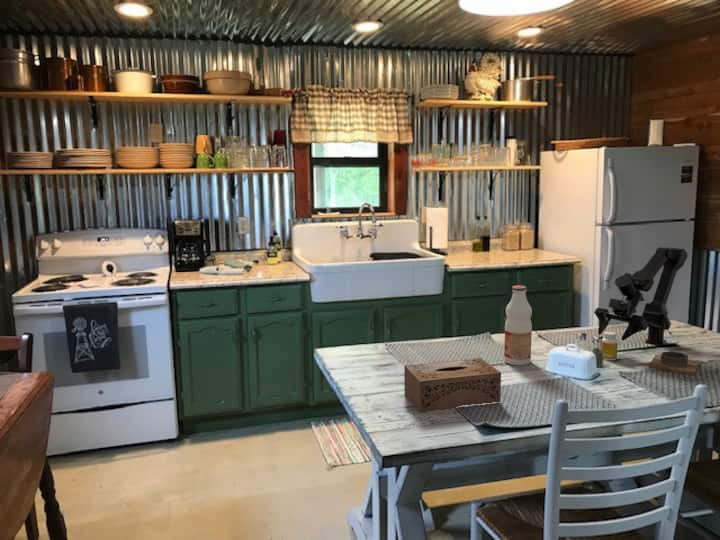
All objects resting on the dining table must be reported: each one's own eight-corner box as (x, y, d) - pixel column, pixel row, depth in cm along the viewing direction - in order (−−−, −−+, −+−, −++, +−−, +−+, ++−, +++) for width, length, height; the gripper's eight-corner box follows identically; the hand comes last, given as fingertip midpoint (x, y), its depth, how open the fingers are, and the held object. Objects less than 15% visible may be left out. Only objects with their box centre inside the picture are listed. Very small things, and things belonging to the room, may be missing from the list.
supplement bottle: (614, 361, 216) (616, 335, 214) (599, 359, 219) (600, 333, 217) (618, 357, 220) (620, 332, 218) (603, 355, 223) (604, 330, 221)
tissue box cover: (480, 387, 195) (480, 357, 193) (500, 404, 181) (501, 372, 179) (404, 395, 189) (404, 365, 187) (419, 413, 175) (419, 381, 173)
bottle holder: (655, 357, 220) (656, 346, 219) (698, 363, 212) (699, 352, 211) (648, 368, 208) (649, 357, 208) (694, 375, 200) (695, 364, 200)
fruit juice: (520, 368, 211) (522, 290, 206) (498, 361, 218) (500, 286, 213) (536, 362, 217) (538, 286, 212) (514, 356, 224) (516, 282, 219)
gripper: (598, 286, 226) (579, 319, 221) (646, 294, 211) (626, 330, 206) (609, 303, 232) (590, 336, 227) (656, 312, 217) (637, 347, 212)
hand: (610, 337), depth 218 cm, fingers open, 9 cm apart
